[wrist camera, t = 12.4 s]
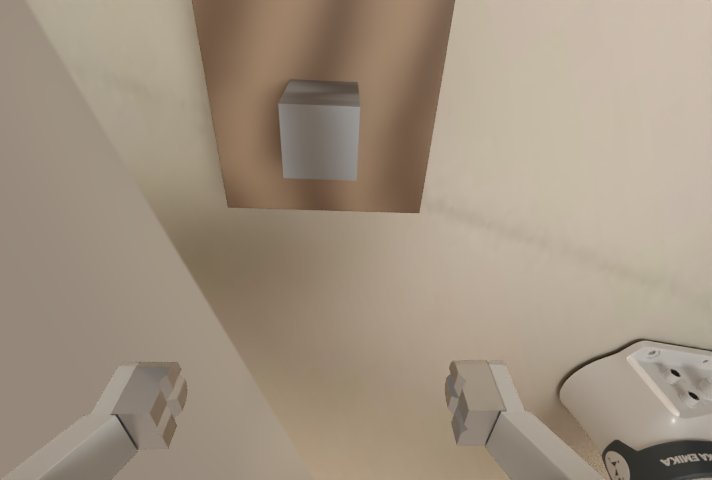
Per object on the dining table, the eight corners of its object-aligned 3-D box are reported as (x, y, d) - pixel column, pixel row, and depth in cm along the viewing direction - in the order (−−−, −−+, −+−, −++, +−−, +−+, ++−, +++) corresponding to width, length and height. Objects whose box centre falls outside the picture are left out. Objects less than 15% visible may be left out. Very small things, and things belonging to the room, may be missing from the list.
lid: (452, -15, 21) (485, -10, 16) (416, 204, 29) (431, 254, 24) (194, -30, 20) (144, -29, 15) (232, 199, 28) (207, 248, 23)
